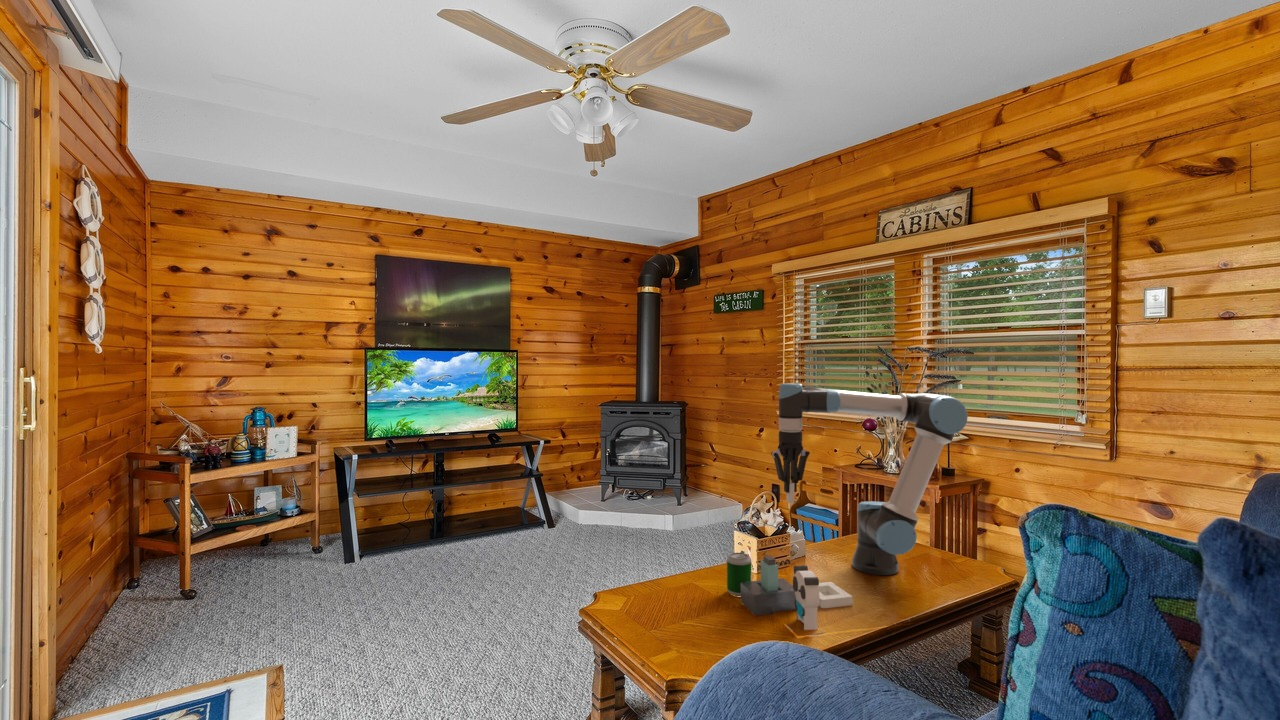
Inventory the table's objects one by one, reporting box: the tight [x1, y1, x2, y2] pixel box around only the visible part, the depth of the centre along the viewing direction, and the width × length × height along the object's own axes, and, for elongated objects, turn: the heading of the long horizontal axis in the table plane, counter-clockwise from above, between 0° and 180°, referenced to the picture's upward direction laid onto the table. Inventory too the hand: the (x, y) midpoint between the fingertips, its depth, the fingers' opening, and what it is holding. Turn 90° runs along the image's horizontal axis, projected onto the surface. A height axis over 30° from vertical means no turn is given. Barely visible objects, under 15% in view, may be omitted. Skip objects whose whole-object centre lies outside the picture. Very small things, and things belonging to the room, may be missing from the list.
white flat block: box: [818, 581, 854, 609], centre depth 186 cm, size 10×12×3 cm
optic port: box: [740, 577, 797, 616], centre depth 182 cm, size 14×10×6 cm
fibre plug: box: [760, 555, 779, 592], centre depth 182 cm, size 3×5×13 cm, turn 13°
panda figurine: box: [785, 565, 825, 636], centre depth 169 cm, size 12×11×15 cm
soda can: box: [726, 552, 752, 596], centre depth 191 cm, size 8×8×12 cm
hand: (790, 502), depth 200 cm, fingers closed
